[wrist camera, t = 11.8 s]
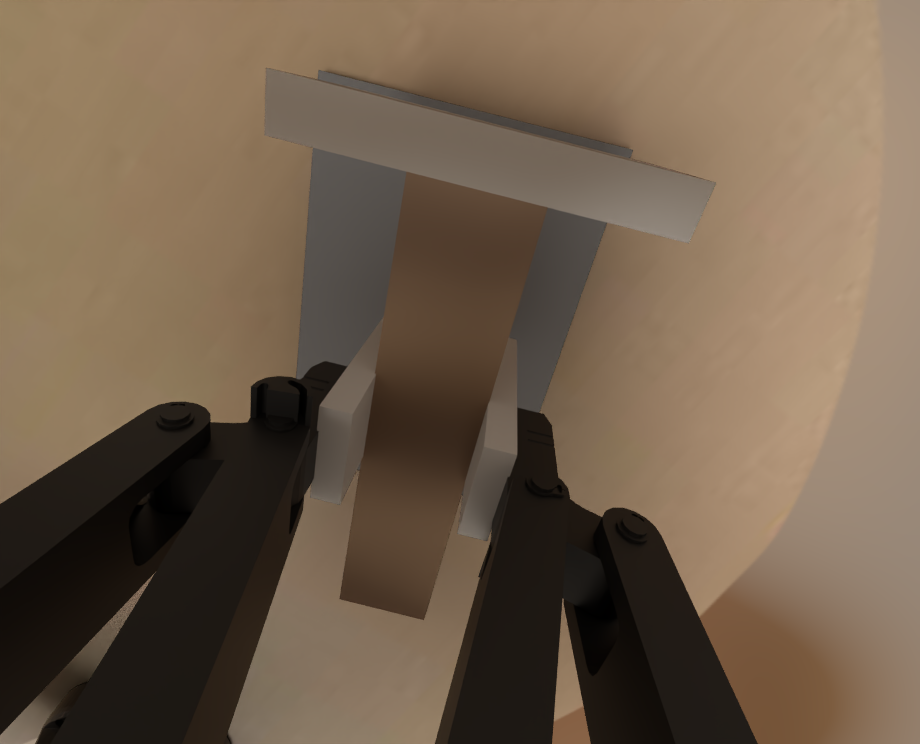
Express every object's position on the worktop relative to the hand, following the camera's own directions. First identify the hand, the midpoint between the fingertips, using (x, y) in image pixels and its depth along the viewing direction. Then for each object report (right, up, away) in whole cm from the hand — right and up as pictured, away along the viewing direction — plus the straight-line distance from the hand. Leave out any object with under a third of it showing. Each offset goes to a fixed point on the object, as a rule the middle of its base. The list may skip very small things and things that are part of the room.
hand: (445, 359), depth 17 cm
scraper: (0, 0, +1) cm, 1 cm away
